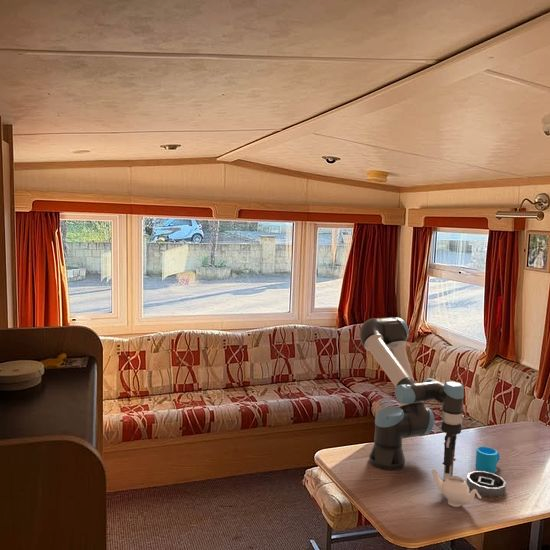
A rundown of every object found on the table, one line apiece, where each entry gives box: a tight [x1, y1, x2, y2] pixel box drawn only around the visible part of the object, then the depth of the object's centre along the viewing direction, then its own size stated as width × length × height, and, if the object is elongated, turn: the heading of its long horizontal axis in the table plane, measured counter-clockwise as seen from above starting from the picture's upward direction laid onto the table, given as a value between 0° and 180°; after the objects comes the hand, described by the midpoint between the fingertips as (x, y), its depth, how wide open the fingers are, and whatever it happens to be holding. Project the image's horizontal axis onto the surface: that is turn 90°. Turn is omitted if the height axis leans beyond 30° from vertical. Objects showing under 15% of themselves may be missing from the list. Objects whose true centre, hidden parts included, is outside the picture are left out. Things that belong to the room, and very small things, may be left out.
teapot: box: [431, 469, 482, 508], centre depth 198 cm, size 10×20×9 cm, turn 42°
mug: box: [475, 446, 500, 474], centre depth 228 cm, size 12×8×8 cm
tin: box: [466, 470, 507, 498], centre depth 211 cm, size 14×14×4 cm
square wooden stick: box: [442, 450, 455, 482], centre depth 214 cm, size 3×3×13 cm
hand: (447, 477), depth 215 cm, fingers closed on square wooden stick, 3 cm apart
